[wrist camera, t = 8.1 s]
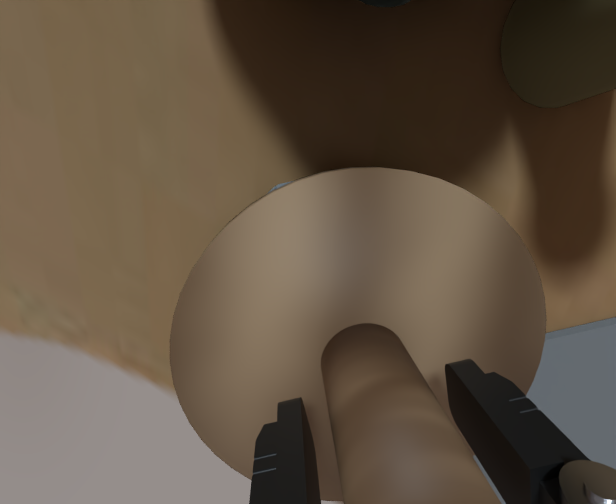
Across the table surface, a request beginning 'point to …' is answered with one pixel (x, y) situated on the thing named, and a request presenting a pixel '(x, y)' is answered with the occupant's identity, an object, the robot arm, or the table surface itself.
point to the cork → (560, 50)
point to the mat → (579, 389)
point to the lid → (357, 329)
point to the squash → (385, 2)
